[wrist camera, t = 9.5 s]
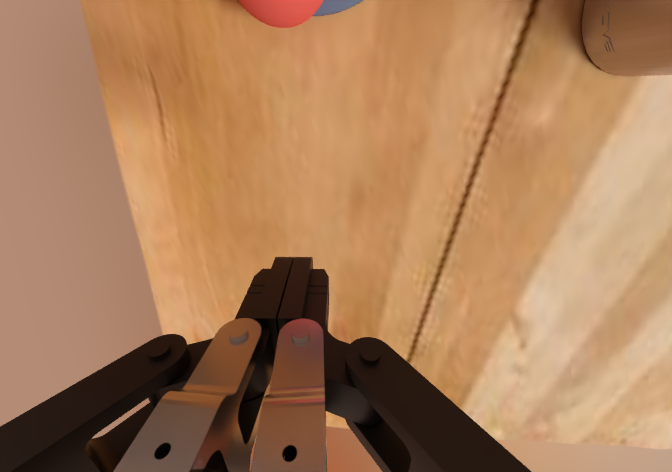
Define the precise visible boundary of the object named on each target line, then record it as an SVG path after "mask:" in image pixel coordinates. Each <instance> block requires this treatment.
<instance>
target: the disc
mask: <svg viewBox="0 0 672 472" xmlns="http://www.w3.org/2000/svg"><path fill="white" fill-rule="evenodd" d="M361 1H363V0H323V2H322V4H321V6H320V7H319V9H318V10H317V11H316V13H315V14H314V15H313V16H324V15H329V14H335V13H338V12H340V11H343V10H346V9H349V8H350V7H352V6H354V5H356V4H358V3H360V2H361Z"/></svg>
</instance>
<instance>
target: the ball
mask: <svg viewBox="0 0 672 472" xmlns="http://www.w3.org/2000/svg"><path fill="white" fill-rule="evenodd" d="M238 1H239V2H240V3H241V5H242V6H243V7H244V8H245V9H246V10H247V11H248V12H249V13H250V14H251V15H252V16H254V17H255V18H256V19H258V20H259V21H261V22H263V23H265V24H267V25H270V26H273V27H279V28H288V27H294V26H297V25H300V24H302V23H303V22H305V21H307V20H308V19H309V18H310V17H312V16H313V15H314V14H315V13H316V11H317V10H318V9H319V7H320V6H321V4H322V2H323V0H238Z"/></svg>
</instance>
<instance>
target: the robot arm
mask: <svg viewBox="0 0 672 472" xmlns="http://www.w3.org/2000/svg"><path fill="white" fill-rule="evenodd" d="M582 36H583V42H584V45H585V48H586V52H587V54H588V55H589V57H590V58H591V60H592V61H593V63H594V64H595V65H597V66H598V67H599V68H600V69H602V70H603V71H605V72H608V73H610V74H613V75H619V76H652V75H672V0H586V1H585V4H584V10H583V18H582ZM328 315H329V277H328V275H327V273H326V272H325V270H324V269H313V259H312V257H276V258H275V260H274V263H273V265H272V268H271V269H262V270H261V271H260V272H259V273H257V274H256V275H255V276H254V278H253V280H252V282H251V285H250V287H249V289H248V291H247V294H246V296H245V298H244V300H243V302H242V304H241V307H240V309H239V311H238V313H237V315H236V317H235V320H232V321H230V322H228V323H226V324H225V325H224V326H222V327H221V328H220V329H219V330H218V332H217V333H216V335H215V337H214V338H212V339H209V340H205V341H201V342H197V343H193V344H189V345H187V343H186V340H185V339H184V338H183V337H182V336H180V335H177V334H167V335H163V336H160V337H157V338H154V339H153V340H151V341H149V342H147V343H145V344H144V345H142V346H140V347H138V348H137V349H135V350H133V351H131V352H130V353H128V354H126V355H125V356H123V357H121V358H119V359H117V360H116V361H114V362H112V363H111V364H109V365H107V366H105V367H103V368H102V369H100V370H98V371H97V372H95V373H93V374H91V375H90V376H88V377H86V378H84V379H83V380H81V381H79V382H77V383H76V384H74V385H72V386H70V387H69V388H67V389H65V390H64V391H62V392H60V393H58V394H57V395H55V396H53V397H51V398H50V399H48V400H46V401H44V402H42V403H41V404H39V405H37V406H35V407H34V408H32V409H30V410H29V411H27V412H25V413H23V414H22V415H20V416H18V417H16V418H15V419H13V420H11V421H9V422H8V423H6V424H4V425H2V426H1V427H0V472H327V449H326V448H327V445H326V411H328V412H330V413H333V414H335V415H338V416H340V417H343V418H345V420H346V422H347V424H348V426H349V427H350V429H351V430H352V431H353V433H354V434H355V435H356V437H357V438H358V439H359V441H360V442H361V443H362V445H363V446H364V447H365V449H366V450H367V451H368V453H369V454H370V455H371V457H372V458H373V459H374V461H375V462H376V463H377V465H378V466H379V467H380V469H381V470H382V471H383V472H531V471H530V470H529V469H528V468H527V467H525V466H524V465H523V464H522V463H521V462H520V461H519V460H517V459H516V458H515V457H514V456H513V455H512V454H511V453H510V452H508V451H507V450H506V449H505V448H504V447H503V446H502V445H501V444H499V443H498V442H497V441H496V440H495V439H494V438H493V437H491V436H490V435H489V434H488V433H487V432H486V431H485V430H484V429H482V428H481V427H480V426H479V425H478V424H477V423H476V422H474V421H473V420H472V419H471V418H470V417H469V416H468V415H467V414H465V413H464V412H463V411H462V410H461V409H460V408H459V407H457V406H456V405H455V404H454V403H453V402H452V401H451V400H450V399H448V398H447V397H446V396H445V395H444V394H443V393H442V392H440V391H439V390H438V389H437V388H436V387H435V386H434V385H433V384H431V383H430V382H429V381H428V380H427V379H426V378H425V377H423V376H422V375H421V374H420V373H419V372H418V371H417V370H416V369H414V368H413V367H412V366H411V365H410V364H409V363H408V362H406V361H405V360H404V359H403V358H402V357H401V356H400V355H399V354H397V353H396V352H395V351H394V350H393V349H392V348H391V347H389V346H388V345H387V344H386V343H385V342H383V341H381V340H379V339H376V338H371V337H364V338H360V339H357V340H355V341H353V342H352V343H351V344H348V343H345V342H342V341H339V340H337V339H335V338H334V337H333V336H332V335H331V334H330V333H329V332H328ZM271 377H272V380H271ZM270 381H271V383H270ZM147 398H148V399H149V401H150V403H149V404H147V405H146V406H144V407H143V408H141V409H140V410H139V411H137V412H136V413H134V414H133V415H132V416H130V417H129V418H127V419H126V420H125V421H123V422H122V423H120V424H119V425H118V426H116V427H115V428H113V429H112V430H111V431H109V432H108V433H106V434H105V435H103V436H101V437H98V438H94V439H91V438H92V437H93V436H94V435H95V434H97V433H98V432H99V431H101V430H102V429H104V428H105V427H107V426H108V425H109V424H111V423H112V422H114V421H115V420H116V419H118V418H119V417H121V416H122V415H124V414H125V413H127V412H128V411H129V410H131V409H132V408H134V407H135V406H137V405H138V404H139V403H141V402H142V401H144V400H145V399H147ZM256 436H257V437H256ZM255 439H256V443H255V449H254V454H253V460H252V466H251V471H250V460H251V453H252V448H253V445H254V442H255Z"/></svg>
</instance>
